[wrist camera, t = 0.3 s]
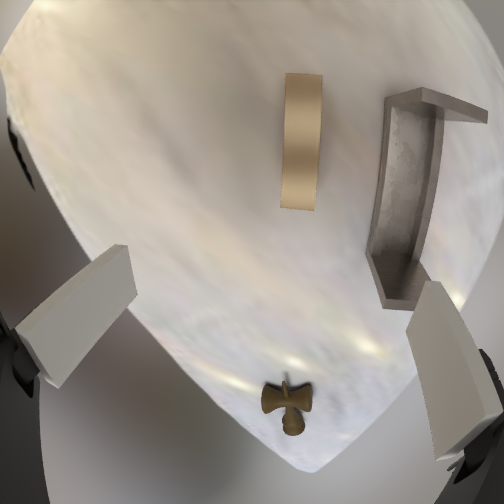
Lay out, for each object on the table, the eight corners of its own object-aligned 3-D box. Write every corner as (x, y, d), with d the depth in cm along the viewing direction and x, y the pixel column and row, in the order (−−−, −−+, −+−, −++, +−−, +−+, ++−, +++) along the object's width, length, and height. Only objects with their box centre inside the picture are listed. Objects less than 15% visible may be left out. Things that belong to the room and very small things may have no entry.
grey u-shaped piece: (385, 98, 26) (422, 87, 15) (435, 111, 24) (487, 110, 14) (365, 254, 35) (382, 308, 24) (411, 259, 34) (440, 312, 23)
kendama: (275, 417, 57) (259, 369, 49) (315, 416, 55) (310, 367, 47) (272, 438, 52) (254, 394, 44) (314, 438, 50) (309, 393, 41)
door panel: (292, 88, 28) (284, 72, 19) (319, 90, 27) (323, 75, 18) (288, 184, 33) (279, 207, 24) (314, 186, 33) (315, 211, 24)
